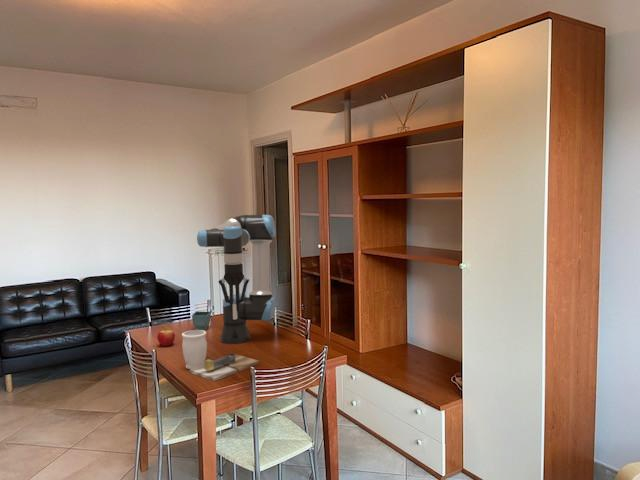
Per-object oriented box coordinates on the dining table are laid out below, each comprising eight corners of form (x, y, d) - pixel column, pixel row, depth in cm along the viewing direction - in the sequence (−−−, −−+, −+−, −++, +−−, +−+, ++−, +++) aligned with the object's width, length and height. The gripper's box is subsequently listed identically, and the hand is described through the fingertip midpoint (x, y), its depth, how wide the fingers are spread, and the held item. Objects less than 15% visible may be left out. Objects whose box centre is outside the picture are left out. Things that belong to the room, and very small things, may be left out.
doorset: (189, 372, 203) (189, 358, 202) (234, 356, 222) (234, 343, 222) (214, 381, 193) (214, 366, 192) (259, 363, 213) (259, 350, 212)
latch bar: (231, 358, 213) (230, 350, 212) (237, 360, 210) (237, 352, 210) (203, 368, 200) (203, 360, 200) (209, 370, 198) (209, 362, 198)
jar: (185, 362, 215) (184, 329, 214) (209, 361, 216) (208, 329, 215) (180, 371, 204) (179, 336, 203) (205, 370, 205) (204, 335, 204)
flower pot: (207, 331, 266) (207, 315, 265) (192, 331, 266) (191, 315, 265) (211, 326, 275) (211, 311, 274) (196, 326, 275) (195, 311, 274)
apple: (154, 345, 241) (153, 326, 240) (169, 341, 247) (169, 322, 246) (162, 349, 235) (162, 329, 234) (178, 345, 241) (177, 325, 240)
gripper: (250, 261, 205) (251, 316, 207) (219, 262, 204) (221, 316, 206) (248, 264, 197) (249, 320, 199) (216, 264, 197) (218, 321, 199)
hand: (235, 318), depth 203 cm, fingers closed
